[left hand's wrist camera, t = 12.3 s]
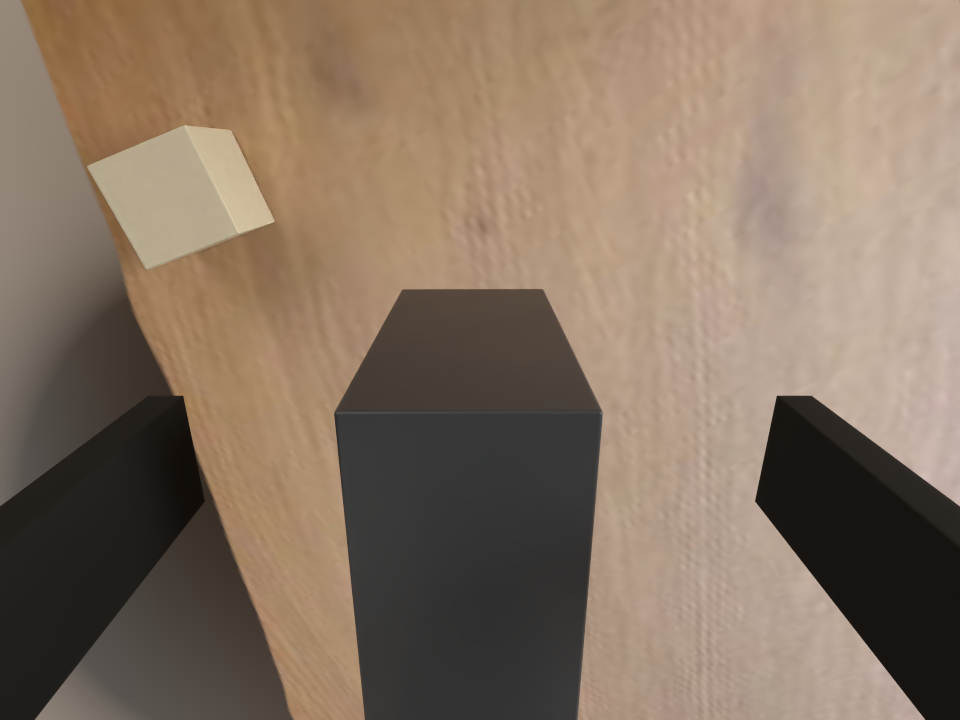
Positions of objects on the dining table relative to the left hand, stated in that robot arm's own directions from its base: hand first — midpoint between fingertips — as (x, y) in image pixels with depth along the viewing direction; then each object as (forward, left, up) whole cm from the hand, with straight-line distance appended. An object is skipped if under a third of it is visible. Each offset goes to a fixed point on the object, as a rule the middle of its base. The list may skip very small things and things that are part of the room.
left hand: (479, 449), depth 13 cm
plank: (+10, 0, -6) cm, 12 cm away
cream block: (-4, -14, -20) cm, 25 cm away
